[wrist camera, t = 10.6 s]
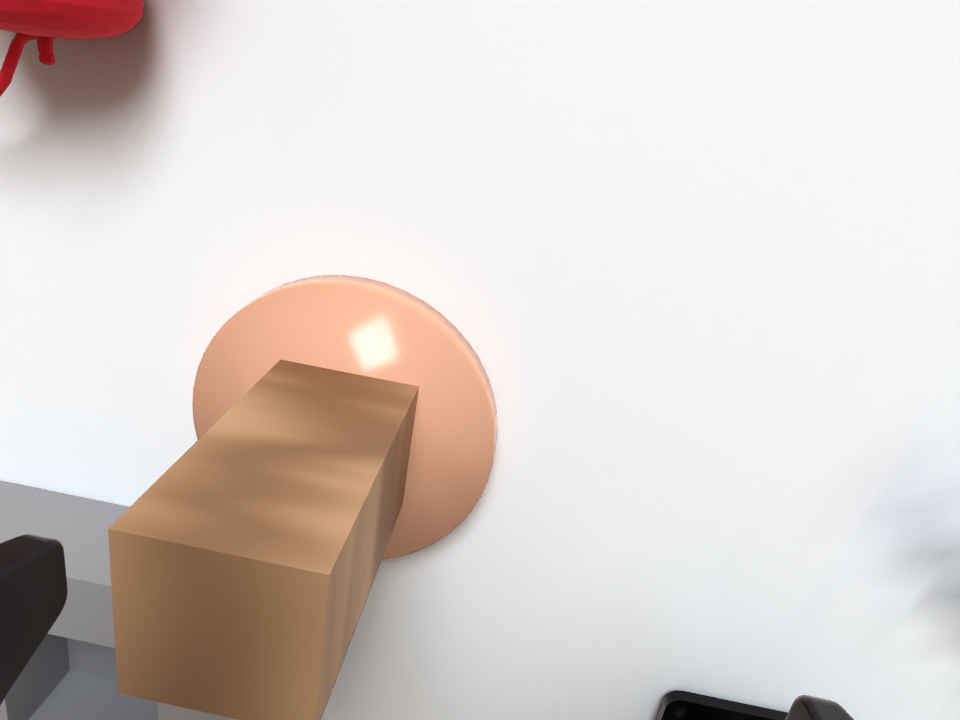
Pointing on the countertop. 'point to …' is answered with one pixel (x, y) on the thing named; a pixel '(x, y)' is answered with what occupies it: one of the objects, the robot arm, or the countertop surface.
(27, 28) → the alarm clock
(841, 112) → the countertop surface
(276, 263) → the countertop surface
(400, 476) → the walnut block
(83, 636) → the pocket holder
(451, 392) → the terracotta plate
